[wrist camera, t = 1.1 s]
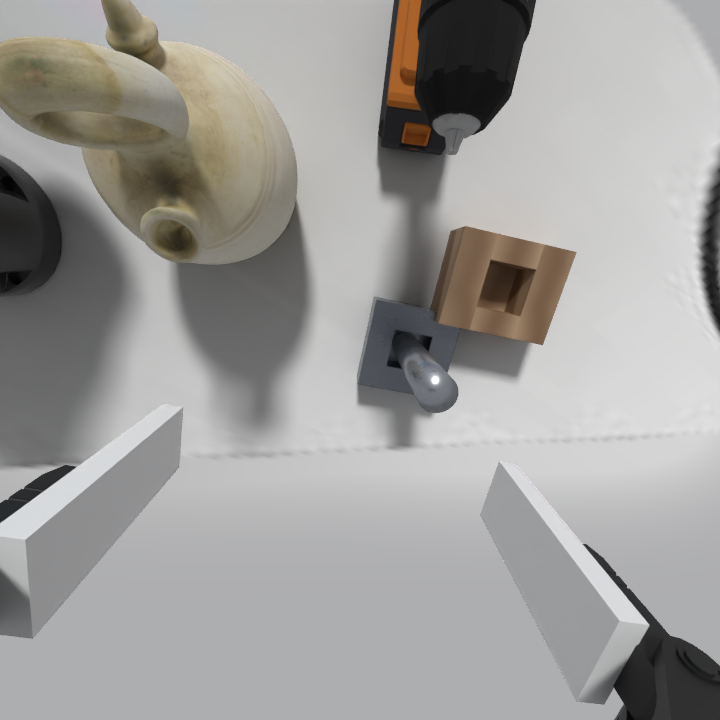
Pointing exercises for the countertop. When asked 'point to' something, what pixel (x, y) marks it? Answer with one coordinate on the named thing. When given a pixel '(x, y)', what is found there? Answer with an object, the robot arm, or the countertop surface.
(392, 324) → the socket block
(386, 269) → the countertop surface
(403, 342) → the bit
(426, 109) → the power drill
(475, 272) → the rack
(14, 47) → the jug
